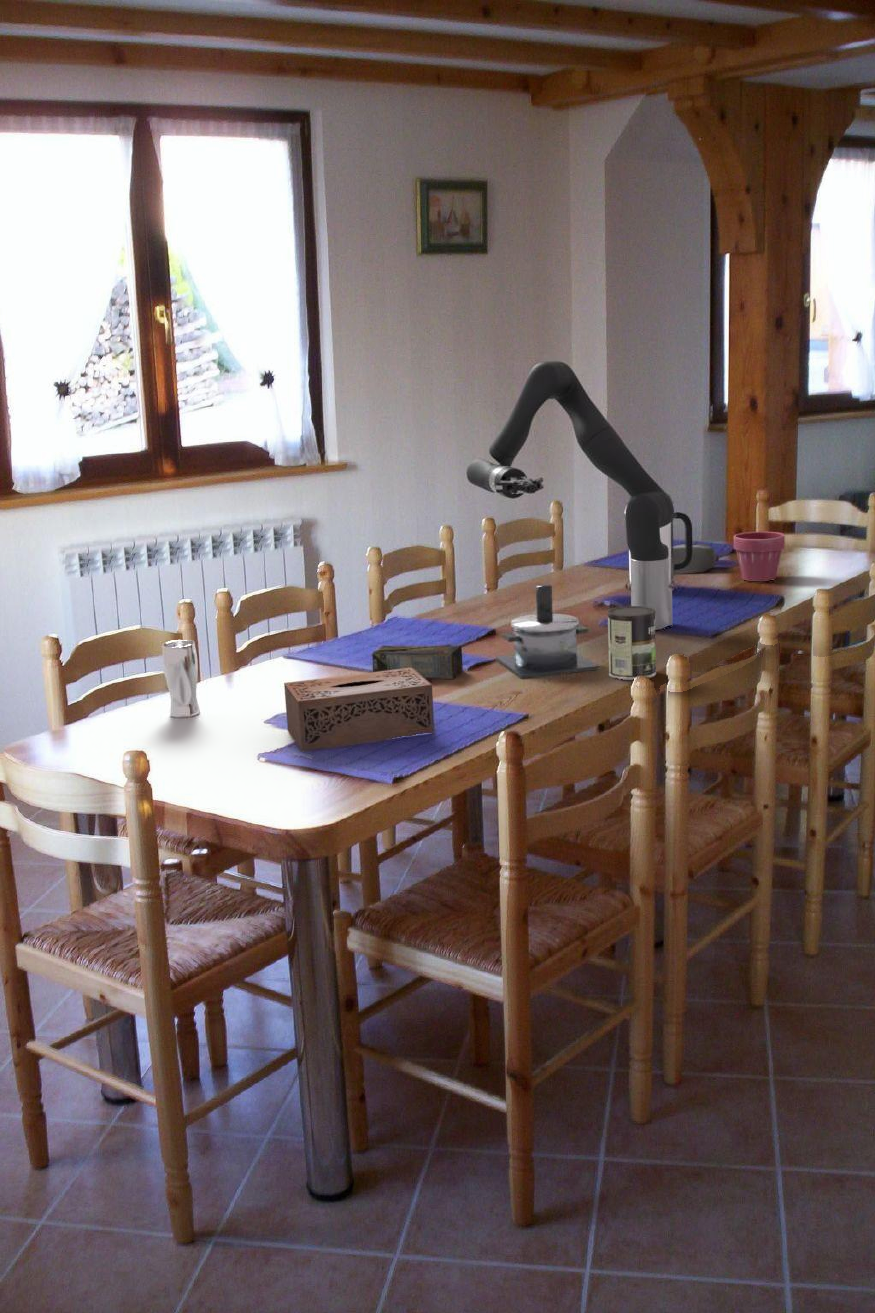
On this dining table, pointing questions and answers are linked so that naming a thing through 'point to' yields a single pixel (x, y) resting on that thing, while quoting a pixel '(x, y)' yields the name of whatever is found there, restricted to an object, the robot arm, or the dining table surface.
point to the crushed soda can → (181, 677)
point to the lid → (544, 615)
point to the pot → (545, 653)
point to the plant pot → (759, 554)
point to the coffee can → (631, 642)
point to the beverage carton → (420, 660)
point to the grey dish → (695, 558)
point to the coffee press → (667, 539)
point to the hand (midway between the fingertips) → (532, 488)
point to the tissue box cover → (358, 708)
